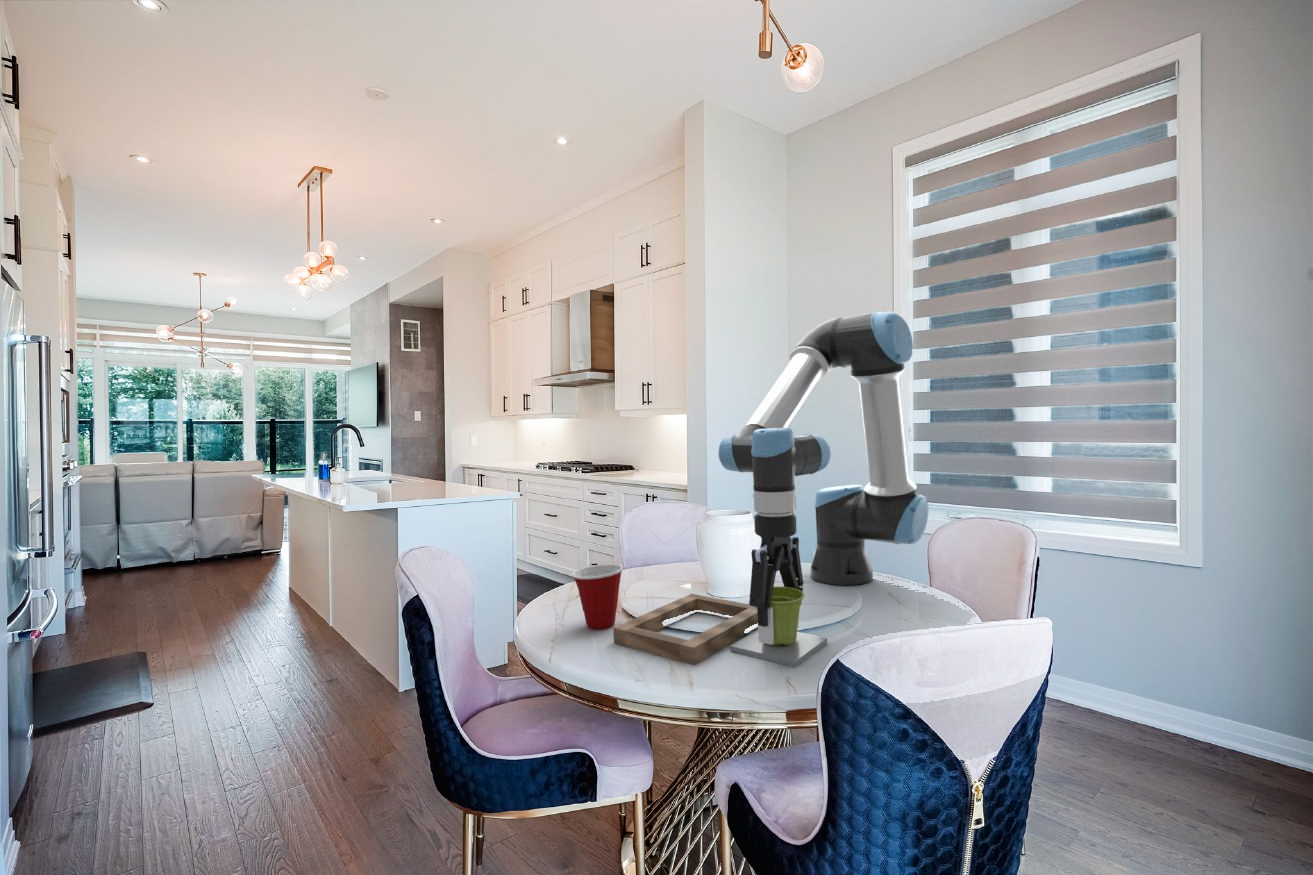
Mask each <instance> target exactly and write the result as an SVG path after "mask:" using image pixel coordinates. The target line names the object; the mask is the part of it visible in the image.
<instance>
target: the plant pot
mask: <svg viewBox="0 0 1313 875" xmlns="http://www.w3.org/2000/svg"><path fill="white" fill-rule="evenodd" d="M804 598H805V593H804V592H802V591H800V590H798V589H795V588H791V587H784V586H783V585H782V586H779V585H778V586H775V585H774V587H773V592H772V597H771V603H770V607H773V628H774V644H773V645H779V644H785V645H789V644H792V643H794V642H795V641H796V637H797V632H798V628H797V627H798V626H799V617H800V616H799V615H800V610H801V609H800V607H801V606H802V604H803V603H802V602H803V599H804Z"/></svg>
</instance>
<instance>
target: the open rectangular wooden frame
mask: <svg viewBox="0 0 1313 875" xmlns="http://www.w3.org/2000/svg"><path fill="white" fill-rule="evenodd" d="M694 610H703V611H710V612H714V613H719V614H722V615H729V616H733V617H731V618H729V619H728V618H726V619H725V620H723V621H722V622H720V623H718V624H716V625H714V626H712V627H710V628H708V629H706V630H705V631H702V632H701V633H698V634H697V635H695V636H693V637H691V638H689V639H685V638H681V637H677V636H673V635H669V634H665V633H660V632H658V631H660V630H663V629H664V628H666V627H665V626H663V624H662V622H663V621H664V620H666V619H670V618H673V617H677V616H679V615H683V614H685V613H688V612H690V611H694ZM757 623H758V614H757V607H754V606H750V604H749V603H744V602H739V601H734V600H727V599H723V598H717V597H713V596H712V597H711V596H707V595H702V594H701V595H700V594H696V593H695V594H694V593H690V594H688V595H686V596H683V597H681V598H679V599H677V600H674V601H672V602H669V603H667V604H666V605H663V606H660V607H658V608H656V609H654V610H653V609H652V611H649V612H646V613H643V614H641V615H640V616H637V617H635V618H632V619H630V620H628V621H626V622H624V623H621V624H619V625H617V626H615V627H614V626H613V629H612V630H613V631H612V632H613V644H616V645H619V646H624V647H627V648H631V649H635V650H638V651H642V652H646V653H650V654H653V655H655V656H656V655H657V656H662V657H663V658H664V657H665V658H667V659H668V658H669V659H671V660H676V661H679V662H683V663H686V664H690V665H696V664H698V663H700V662H701V661H703V660H705V659H707V658H708V657H710V656H711V655H714V654H715V653H717V652H719V651H720V650H722V649H724V648H726V647H727V646H728V645H729V646H730V645H732V644H733V642H734V643H735V642H737V640H740V639H742V637H743V638H744V637H745V636H747V634H746V633H744V631H745V629H747V628H749V627H750V626H752V625H754V624H757Z"/></svg>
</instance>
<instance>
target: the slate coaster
mask: <svg viewBox="0 0 1313 875" xmlns="http://www.w3.org/2000/svg"><path fill="white" fill-rule="evenodd" d="M827 644H828V637H824V636H820V635H815V634H810V633H806V632H805V633H804V632H800V631H797V637H796V641H795V642H794V643H792V644H789V645H785V644H779V645H773V644H772V645H771V644H766V643H762V642H759V641H758V629H755V631H752V632H750V633H749V634H747V635H745V636H743V638H740V639H738V641H735V642H734V643H732V644H730V645H729V649H730V650H729V651H730V652H731V653H736V654H740V655H743V656H748V657H752V658H757V659H760V660H765V661H770V662H773V663H777V664H781V665H785V666H790V667H793V668H796V667H797V666H799V665H800V664H802V663H803V662H804V661H805V660H806V659H808V658H810V657H811V656H812V655H814V654H815V653H816V652H818V651H819V650H821V649H822V648H823V647H824V646H826V645H827Z"/></svg>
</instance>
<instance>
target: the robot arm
mask: <svg viewBox="0 0 1313 875" xmlns="http://www.w3.org/2000/svg"><path fill="white" fill-rule="evenodd" d="M913 349H914V342H913V337H912V331H911V329H910V326H909V324H908V323H907V321H906V319H904V317H903V316H902V315H901V314H900V313H898V312H896V311H876V312H871V313H865V314H863V313H862V314H858V315H849V316H845V317H844V316H843V317H835V318H832V319H828V320H827V321H824V322H822V323H820V324H819V325H818V326H816V327H815V328H813V329H812V330H811V331H810V332H808V333H807V334H806V335H805V336H804V337H803V338H802V339H801V340H800V341H799V342H798V343H797V344H796V346H795V347H794V348H793V350H792V351H791V353H790V354H789V357H788V358H789V363H788V364H787V366H786V368H785V369H784V370H783V372H782V374H780V376H779V377H778V379H777V380H776V382H775V383H774V385H773V386H772V387H771V388H770V390H769V392H768V393H767V394H766V396H765V397H764V399H763V400H762V402H761V403H760V405H759V406H758V407H757V409H756V410H755V412H754V413H753V415H751V417H750V419H749V420H748V422H746V424H745V425H744V428H742V430H741V431H740V433H739V434H732V435H728V436H727V435H726V437H724V438H723V439H722V440H721V442H720V443H719V446H718V459H719V463H720V464H721V466H722V467H723V468H724V469H725V470H727V471H731V472H738V473H739V472H740V473H752V478H753V481H752V482H753V485H752V486H753V495H752V498H753V510H754V512H756V514H754V517H753V520H754V533H755V535H757V536H759V537H760V539H761V540H760V548H757V549H754V548H753V549H752V550H751V562H752V564H751V578H750V589H749V590H750V591H749V603H748V604H750V606H754V607H757V614H758V628H757V630H758V641H759V642H762V643H766V644H771V645H772V644H774V628H773V607H770V603H771V597H772V592H773V587H774V586H775V581H776V577H777V576H776V575H777V572H779V574H780V577H781V580H782V583H783V587H791V588H795V589H798V590H800V591H802V592H803V591H804V588H803V586H804V577H803V570H802V563H801V555H800V549H799V548H800V546H799V545H800V539H799V537H797V536H795V535H796V534H797V515H796V514H795V513H794V512H795V511H796V510H797V503H796V502H797V501H796V500H797V499H796V484H795V483H796V480H795V478H796V477H799V476H805V475H813V474H816V473H818V472H820V471H822V470H824V469H825V468H826V467H827V466H828V464H829V463H830V460H831V447H830V445H829V443H828V442H827V440H826V439H824V438H823V437H822V436H820V435H817V434H803V435H794V432H793V430H792V429H791V428H788V426H789V425H790V423H791V421H792V420H793V419H794V417H795V416H796V414H797V413H798V411H799V409H800V408H801V407H802V405H803V403H804V402H805V401H806V399H807V397H808V396H809V394H810V393H811V392H812V389H813V388H814V387H815V385H816V384H817V383H818V381H820V380H822V379H824V378H825V377H826V376H827V375H828V373H829V372H830V371H833V370H835V369H836V370H837V369H839V368H843V369H844V368H849V370H850V376H851V378H852V379H854V380H856V382H858V387H859V396H860V406H861V414H862V423H863V433H864V440H865V449H866V451H865V452H866V458H867V466H868V467H867V468H868V477H869V482H868V483H867V484H866V485H865V487H864V486H863V485H861V484H849V485H848V484H847V485H839V486H832V487H825V488H822V489H819V490H818V491H817V492H816V494H815V505H814V509H815V527H816V528H815V531H816V550H815V552H814V556H813V559H812V562H811V566H810V578H811V579H812V580H814V581H816V582H819V583H822V584H823V583H824V584H827V585H828V584H829V585H837V586H854V585H862V584H867V583H869V582H871V581H873V579H874V576H873V575H874V572H873V567H872V564H871V561H870V559H869V556H868V553H867V551H866V546H865V543H866V542H865V540H866V541H875V542H884V543H890V544H895V545H900V544H903V545H914V544H916V543H917V542H919V541H920V539H921V538H922V536H924V532H925V530H926V527H927V524H928V520H929V519H928V518H929V502H928V500H927V497H926V496H924V495H922V494H921V493H920V494H918V491H917V484H916V483H915V482H913V481H912V480H911V479H910V478H909V470H908V461H907V449H906V442H905V431H904V420H903V412H902V401H901V400H902V399H901V393H900V392H901V390H900V381H899V380H900V379H899V378H900V376H901V375H902V374H903V372H904V371H905V368H906V367H905V364H907V363H909V361H911V359H912V356H913ZM803 593H804V592H803ZM797 629H799V625H798V627H797Z"/></svg>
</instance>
